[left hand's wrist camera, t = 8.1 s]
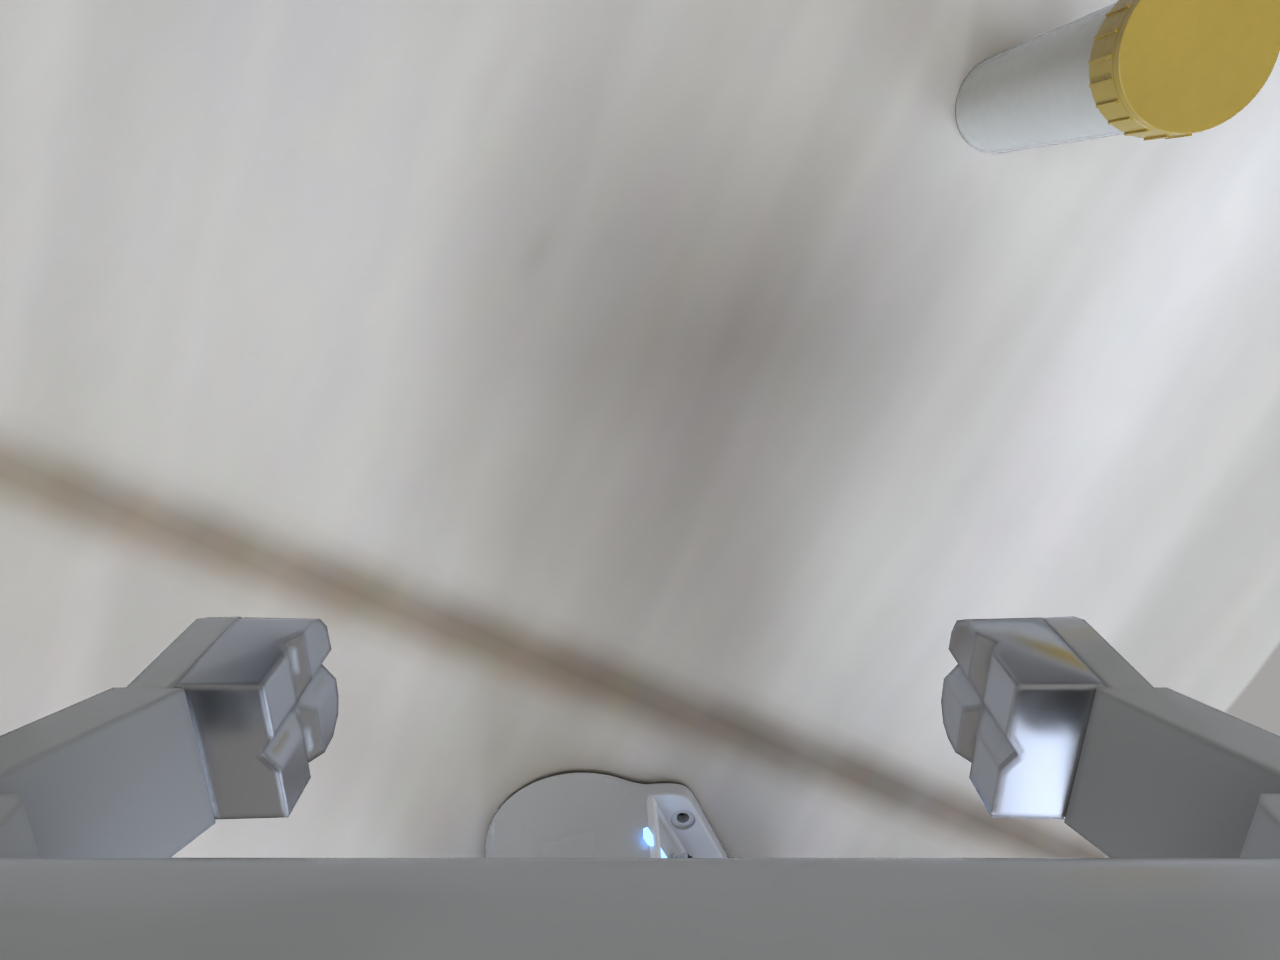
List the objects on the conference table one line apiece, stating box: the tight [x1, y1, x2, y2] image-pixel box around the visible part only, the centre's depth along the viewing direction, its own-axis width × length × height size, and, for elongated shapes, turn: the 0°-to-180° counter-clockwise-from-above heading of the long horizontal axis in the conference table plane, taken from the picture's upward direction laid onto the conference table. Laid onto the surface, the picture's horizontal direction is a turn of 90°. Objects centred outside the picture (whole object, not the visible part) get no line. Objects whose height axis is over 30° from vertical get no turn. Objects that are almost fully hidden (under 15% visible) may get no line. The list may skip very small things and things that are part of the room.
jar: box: [956, 2, 1124, 153], centre depth 34 cm, size 5×5×16 cm
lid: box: [1088, 0, 1280, 140], centre depth 28 cm, size 6×6×2 cm
